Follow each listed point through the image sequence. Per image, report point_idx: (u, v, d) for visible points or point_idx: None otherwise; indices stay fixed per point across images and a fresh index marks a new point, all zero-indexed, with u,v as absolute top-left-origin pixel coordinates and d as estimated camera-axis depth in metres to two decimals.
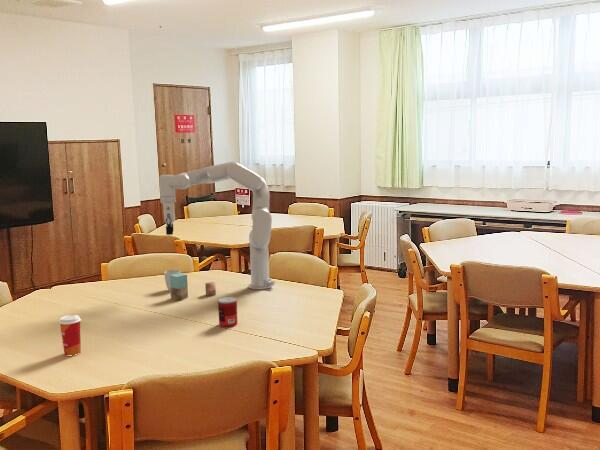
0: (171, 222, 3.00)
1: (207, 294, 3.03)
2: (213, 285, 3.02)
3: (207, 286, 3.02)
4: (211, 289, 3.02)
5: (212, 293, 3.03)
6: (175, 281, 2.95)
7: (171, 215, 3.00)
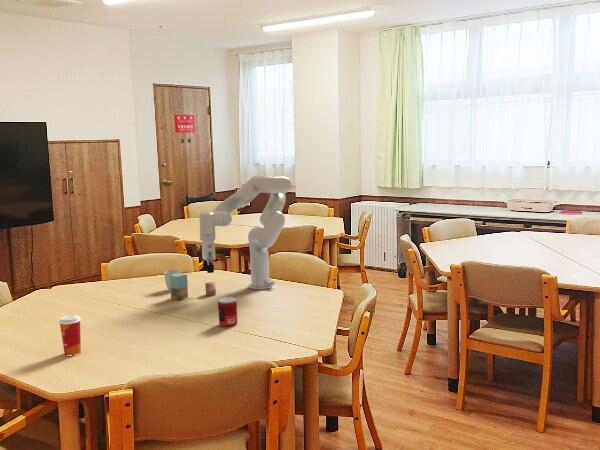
0: None
1: (207, 294, 3.03)
2: (213, 285, 3.02)
3: (207, 286, 3.02)
4: (211, 289, 3.02)
5: (212, 293, 3.03)
6: (175, 281, 2.95)
7: (213, 253, 2.97)
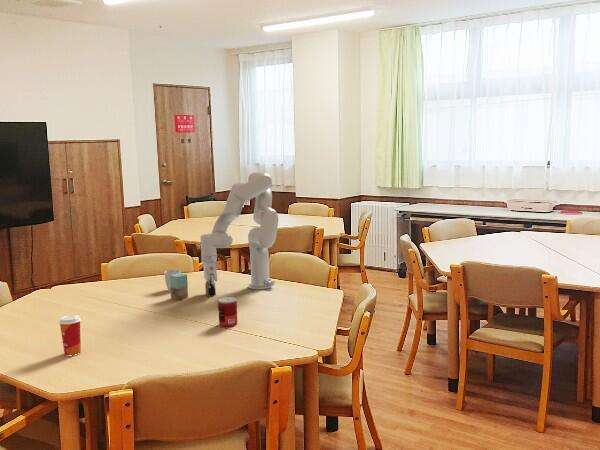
0: None
1: (207, 294, 3.03)
2: None
3: (207, 286, 3.02)
4: None
5: None
6: (175, 281, 2.95)
7: (214, 275, 2.99)
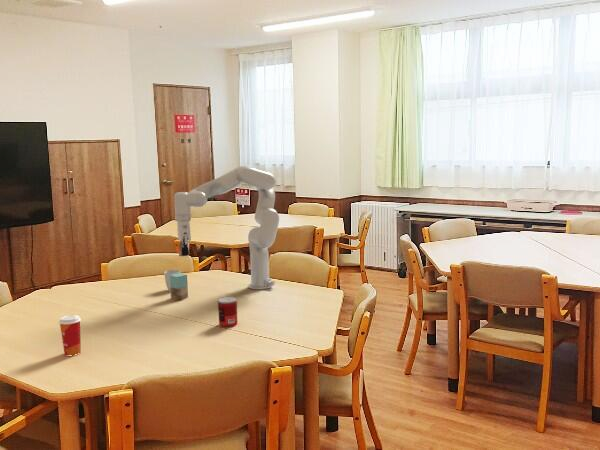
0: None
1: (180, 254, 2.95)
2: None
3: (180, 246, 2.95)
4: None
5: None
6: (175, 281, 2.95)
7: (188, 234, 2.92)
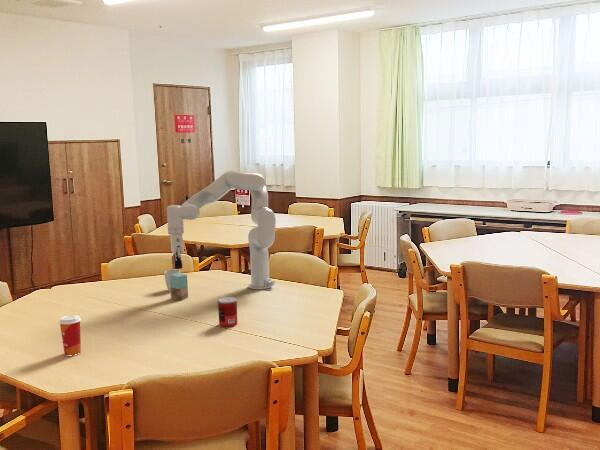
0: None
1: (173, 267, 2.95)
2: None
3: (173, 259, 2.94)
4: None
5: None
6: (175, 281, 2.95)
7: (181, 247, 2.91)
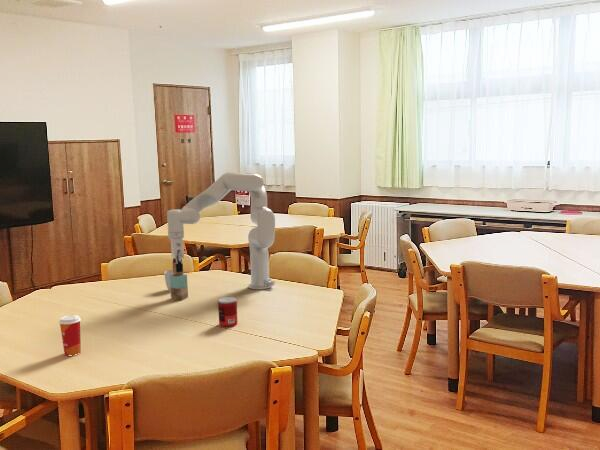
0: (181, 259, 2.93)
1: (174, 274, 2.96)
2: None
3: (174, 266, 2.95)
4: None
5: (179, 273, 2.96)
6: (175, 281, 2.95)
7: (181, 251, 2.92)
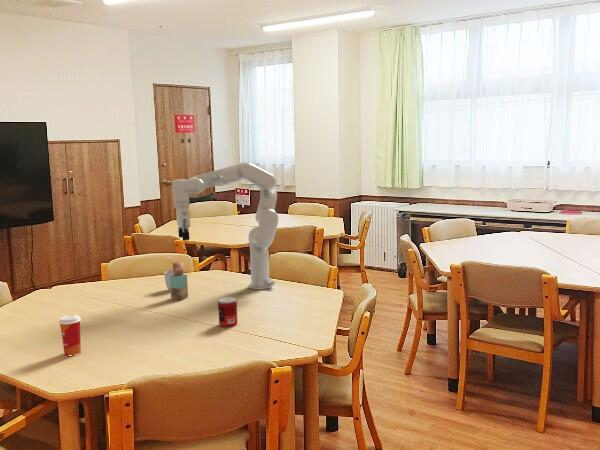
0: None
1: (174, 274, 2.96)
2: (180, 265, 2.95)
3: (174, 266, 2.95)
4: (178, 269, 2.95)
5: (179, 273, 2.96)
6: (175, 281, 2.95)
7: (187, 220, 2.95)
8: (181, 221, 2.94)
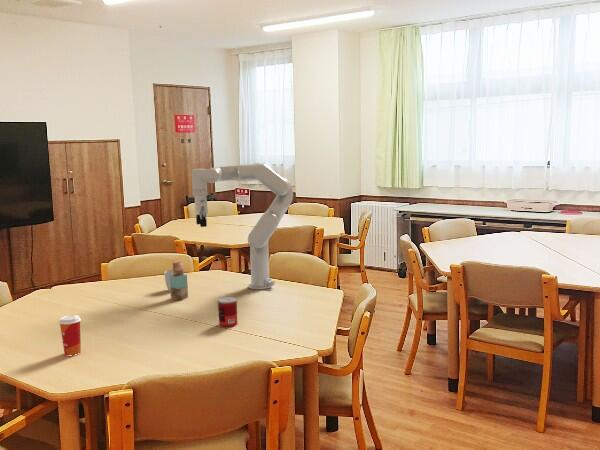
0: None
1: (174, 274, 2.96)
2: (180, 265, 2.95)
3: (174, 266, 2.95)
4: (178, 269, 2.95)
5: (179, 273, 2.96)
6: (175, 281, 2.95)
7: (205, 208, 3.09)
8: (199, 208, 3.08)
